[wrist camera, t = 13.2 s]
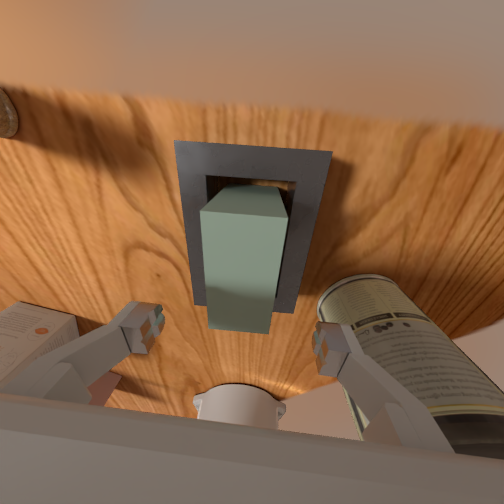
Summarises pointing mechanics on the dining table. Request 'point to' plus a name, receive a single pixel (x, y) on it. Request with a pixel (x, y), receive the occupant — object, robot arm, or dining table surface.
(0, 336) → the small box
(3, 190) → the dining table surface
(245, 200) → the sage block
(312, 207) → the keyed collar
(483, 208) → the dining table surface
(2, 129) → the sprinkles bottle
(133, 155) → the dining table surface
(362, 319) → the coffee can
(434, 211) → the dining table surface
